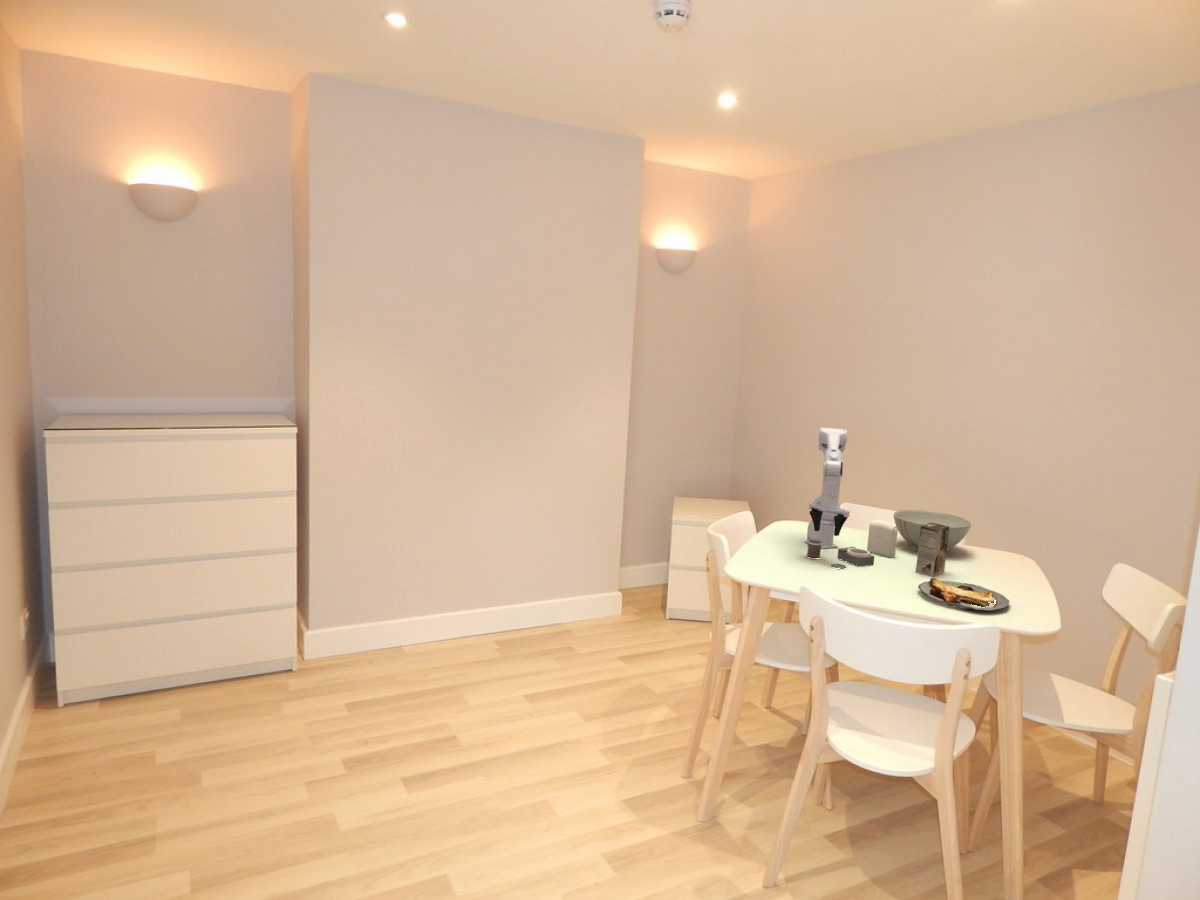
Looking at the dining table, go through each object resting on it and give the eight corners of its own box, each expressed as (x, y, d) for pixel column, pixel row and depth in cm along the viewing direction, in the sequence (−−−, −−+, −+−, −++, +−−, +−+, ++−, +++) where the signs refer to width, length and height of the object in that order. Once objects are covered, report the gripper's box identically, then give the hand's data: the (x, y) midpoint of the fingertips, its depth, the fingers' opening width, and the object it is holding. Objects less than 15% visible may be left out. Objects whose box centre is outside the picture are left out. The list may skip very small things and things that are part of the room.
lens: (804, 556, 273) (805, 539, 272) (813, 555, 275) (815, 538, 275) (813, 559, 269) (814, 543, 269) (822, 558, 272) (824, 541, 271)
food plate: (910, 599, 232) (912, 588, 232) (926, 581, 252) (928, 571, 251) (1002, 622, 219) (1004, 610, 218) (1011, 601, 238) (1013, 590, 238)
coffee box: (925, 567, 267) (931, 522, 265) (944, 572, 263) (950, 526, 260) (914, 572, 261) (920, 525, 258) (933, 577, 256) (939, 529, 254)
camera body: (836, 558, 272) (837, 547, 272) (852, 556, 276) (853, 545, 275) (858, 566, 264) (859, 554, 263) (874, 564, 267) (875, 552, 267)
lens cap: (827, 566, 263) (827, 564, 263) (838, 565, 265) (838, 563, 265) (838, 571, 259) (838, 568, 259) (849, 569, 261) (849, 567, 261)
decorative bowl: (878, 547, 291) (882, 515, 289) (907, 535, 310) (910, 506, 309) (952, 564, 273) (956, 531, 271) (977, 551, 292) (981, 520, 291)
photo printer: (864, 551, 284) (868, 518, 282) (871, 549, 287) (874, 517, 285) (890, 558, 276) (894, 524, 274) (896, 556, 279) (900, 523, 277)
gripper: (805, 492, 269) (802, 530, 271) (843, 499, 259) (839, 539, 260) (816, 490, 274) (812, 527, 276) (854, 497, 263) (850, 536, 265)
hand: (826, 533), depth 268 cm, fingers open, 7 cm apart
